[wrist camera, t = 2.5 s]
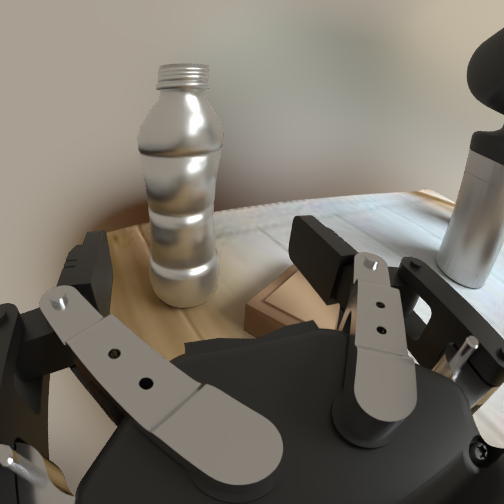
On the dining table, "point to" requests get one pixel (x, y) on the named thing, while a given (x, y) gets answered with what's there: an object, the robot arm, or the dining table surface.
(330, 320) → the plinth
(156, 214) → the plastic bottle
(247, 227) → the dining table surface
